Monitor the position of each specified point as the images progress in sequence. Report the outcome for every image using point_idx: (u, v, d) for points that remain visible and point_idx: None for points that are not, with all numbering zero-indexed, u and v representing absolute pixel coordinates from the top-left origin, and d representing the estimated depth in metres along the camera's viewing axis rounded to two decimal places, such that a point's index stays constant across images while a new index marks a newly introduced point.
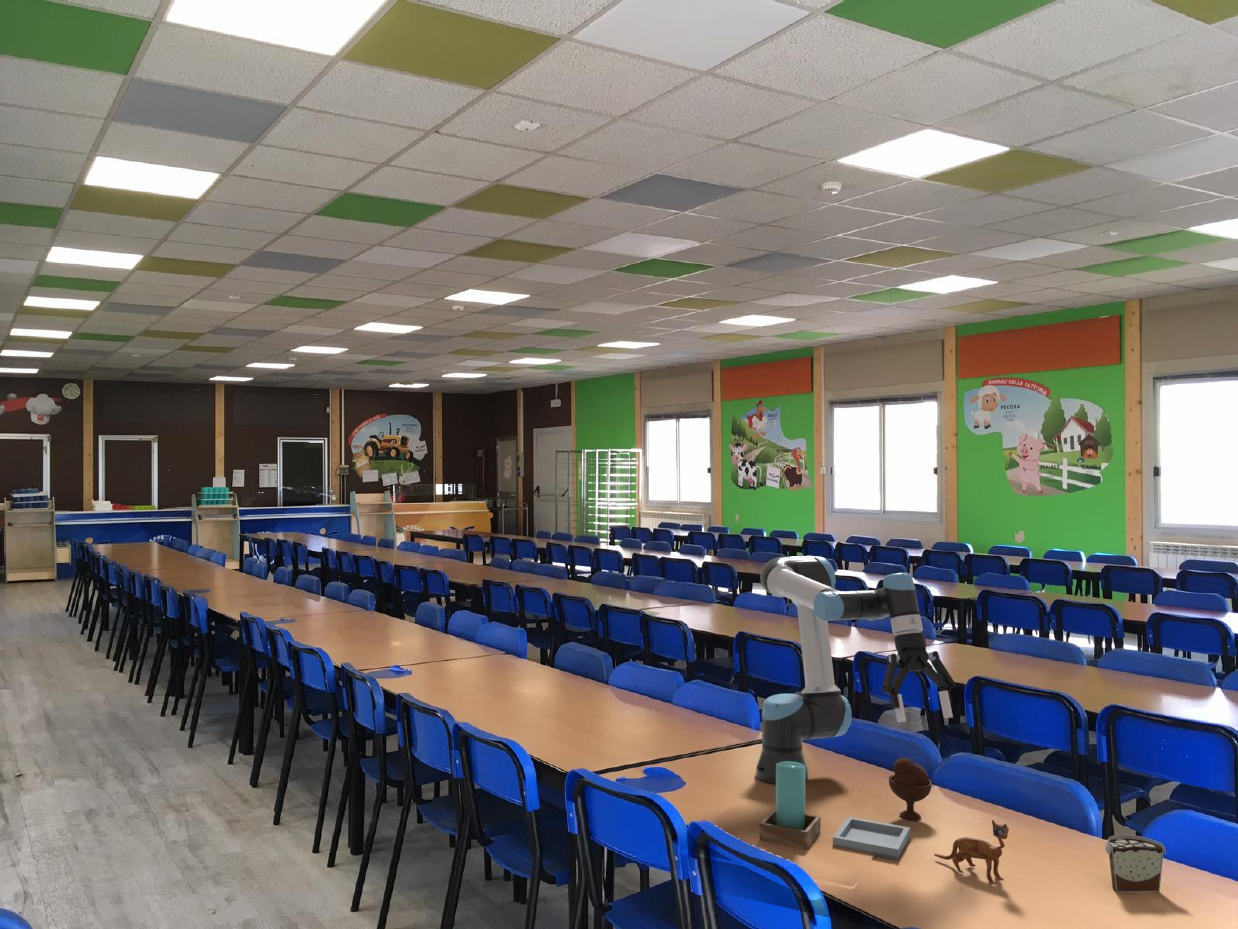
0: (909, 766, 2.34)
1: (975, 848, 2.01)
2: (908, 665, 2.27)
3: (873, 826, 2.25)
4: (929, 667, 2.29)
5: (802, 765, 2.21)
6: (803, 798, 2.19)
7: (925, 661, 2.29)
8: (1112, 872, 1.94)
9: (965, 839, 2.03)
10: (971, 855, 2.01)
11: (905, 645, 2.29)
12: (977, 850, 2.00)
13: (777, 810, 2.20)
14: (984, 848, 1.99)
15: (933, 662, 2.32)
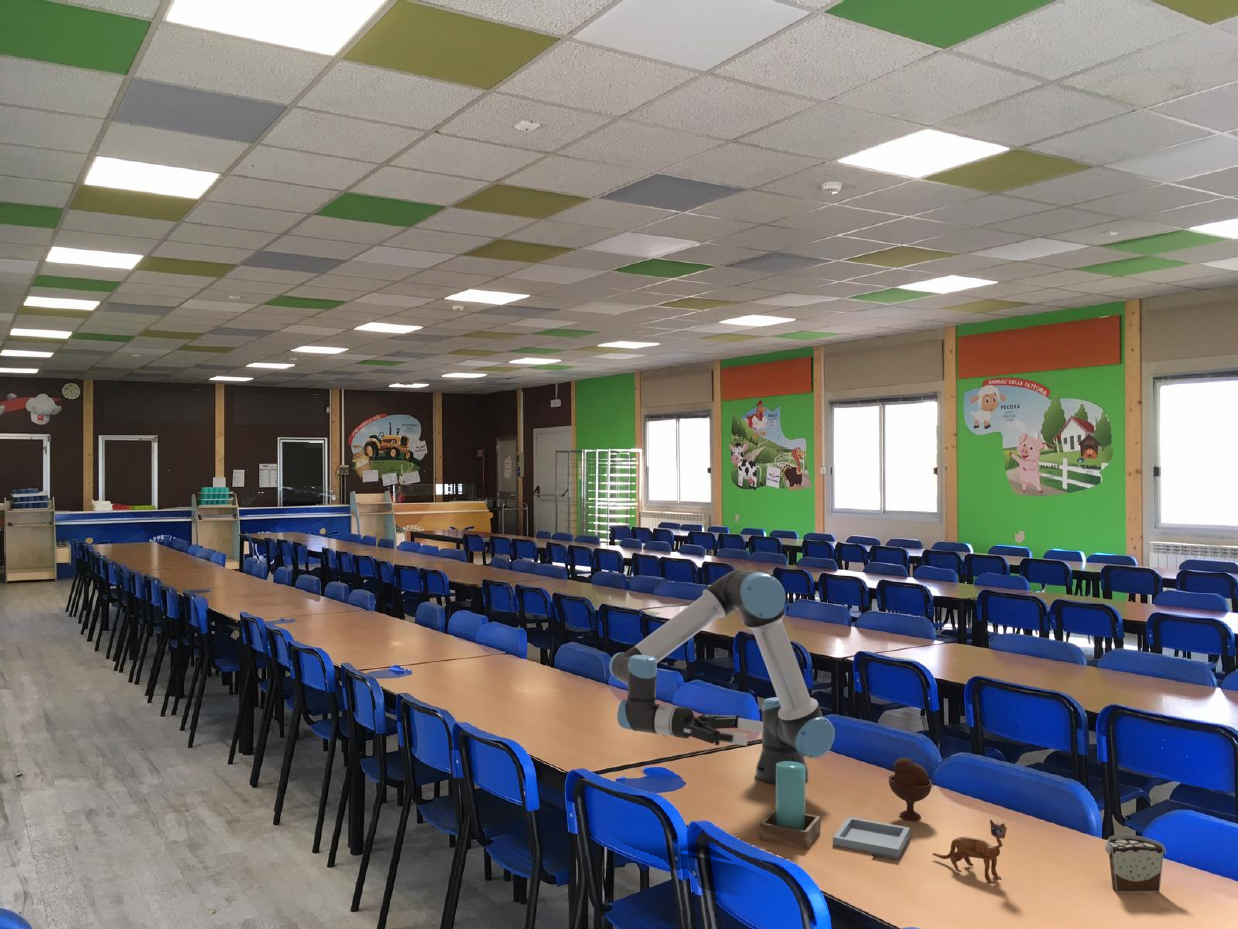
0: (909, 766, 2.34)
1: (973, 847, 2.01)
2: None
3: (873, 826, 2.25)
4: None
5: (802, 765, 2.21)
6: (803, 798, 2.19)
7: None
8: (1112, 872, 1.94)
9: (963, 838, 2.03)
10: (969, 854, 2.02)
11: None
12: (975, 849, 2.01)
13: (777, 810, 2.20)
14: (982, 848, 2.00)
15: None
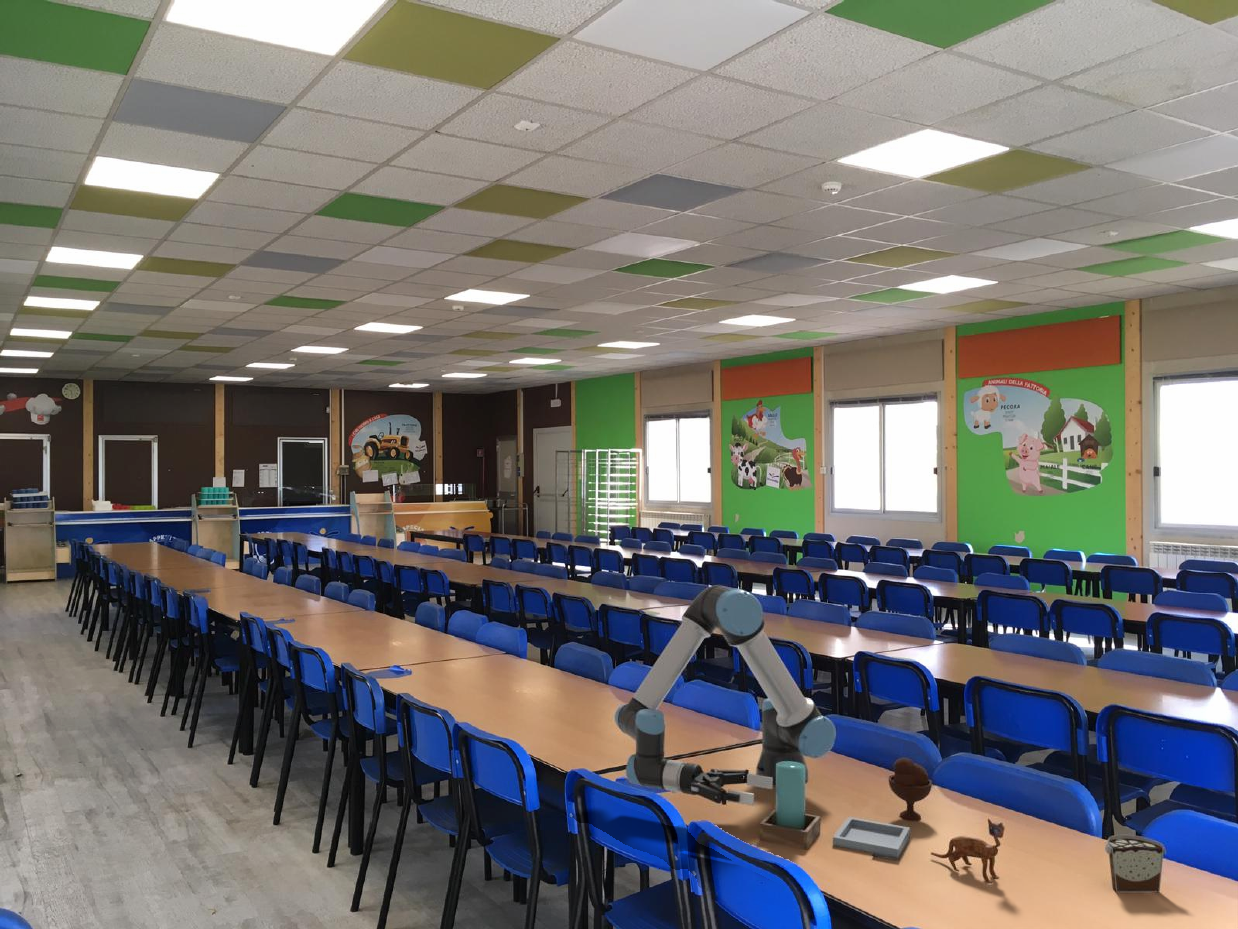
0: (909, 766, 2.34)
1: (971, 847, 2.01)
2: None
3: (873, 826, 2.25)
4: None
5: (802, 765, 2.21)
6: (803, 798, 2.19)
7: None
8: (1112, 872, 1.94)
9: (961, 838, 2.04)
10: (967, 854, 2.02)
11: None
12: (973, 849, 2.01)
13: (777, 810, 2.20)
14: (980, 847, 2.00)
15: None
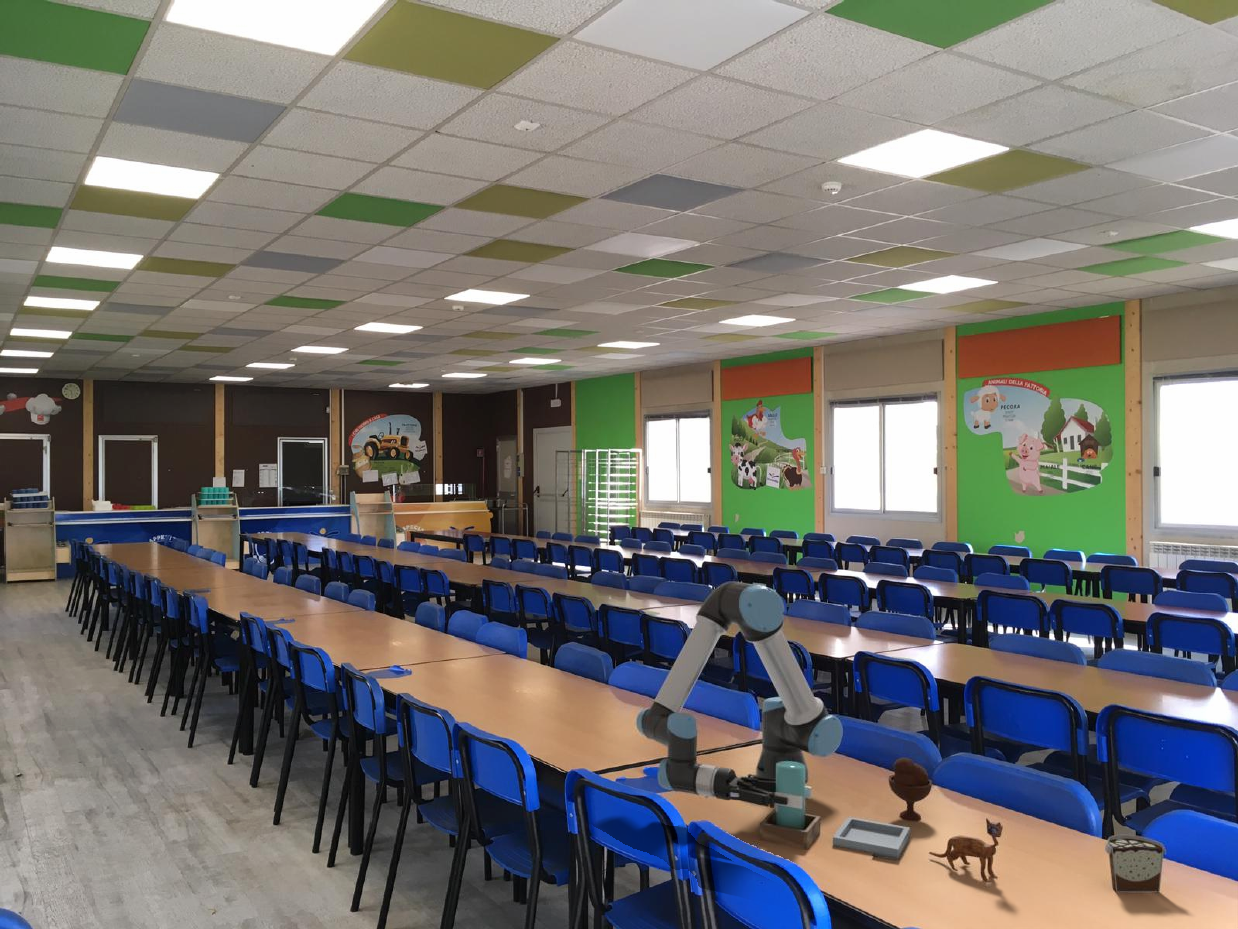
0: (909, 766, 2.34)
1: (969, 846, 2.02)
2: None
3: (873, 826, 2.25)
4: None
5: (802, 765, 2.21)
6: (803, 798, 2.19)
7: None
8: (1112, 872, 1.94)
9: (959, 837, 2.04)
10: (966, 853, 2.02)
11: None
12: (971, 848, 2.01)
13: (777, 810, 2.20)
14: (978, 846, 2.00)
15: None
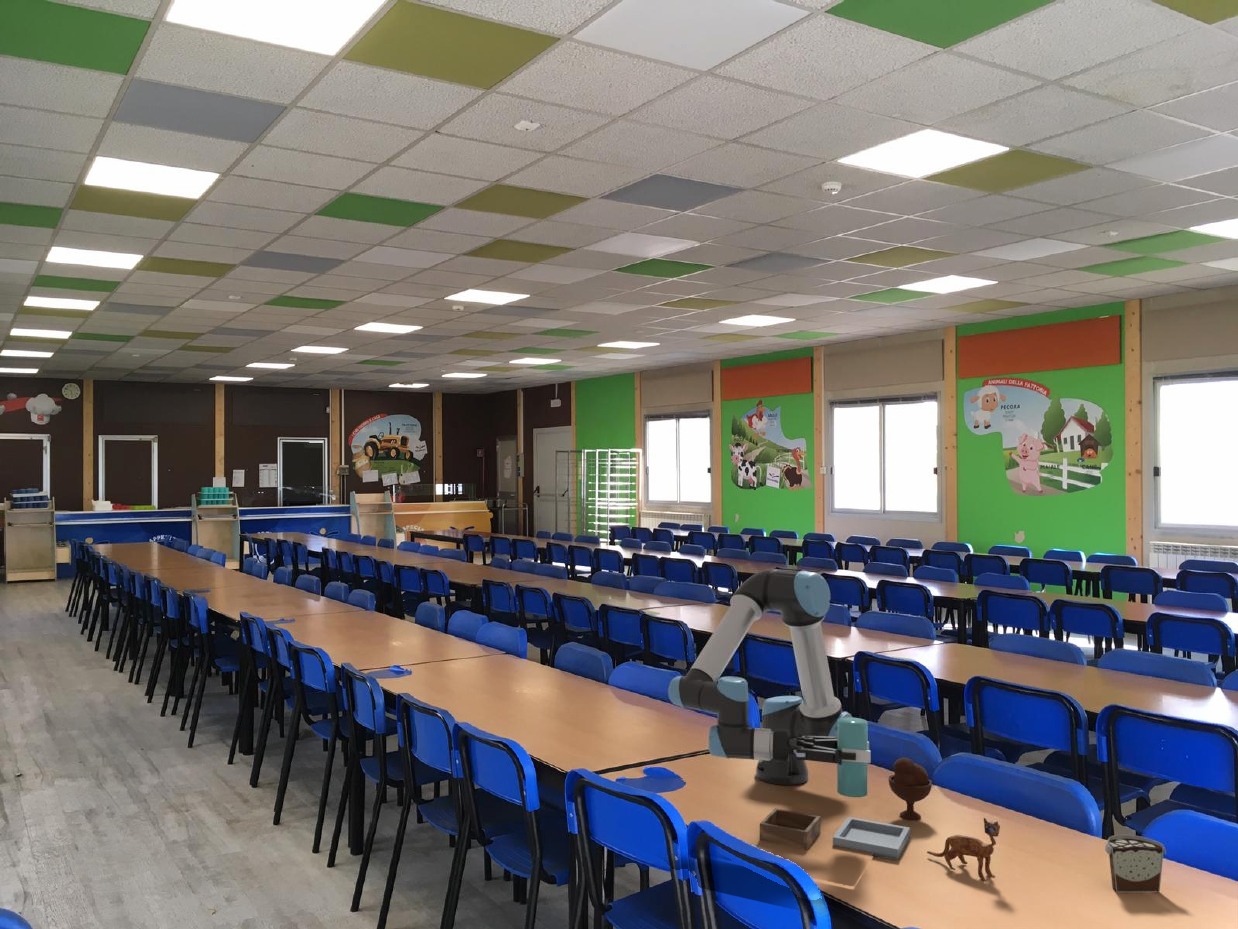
0: (909, 766, 2.34)
1: (966, 845, 2.02)
2: None
3: (873, 826, 2.25)
4: None
5: (863, 720, 2.19)
6: None
7: None
8: (1112, 872, 1.94)
9: (957, 836, 2.04)
10: (963, 852, 2.03)
11: None
12: (969, 847, 2.02)
13: (841, 767, 2.17)
14: (975, 846, 2.01)
15: None
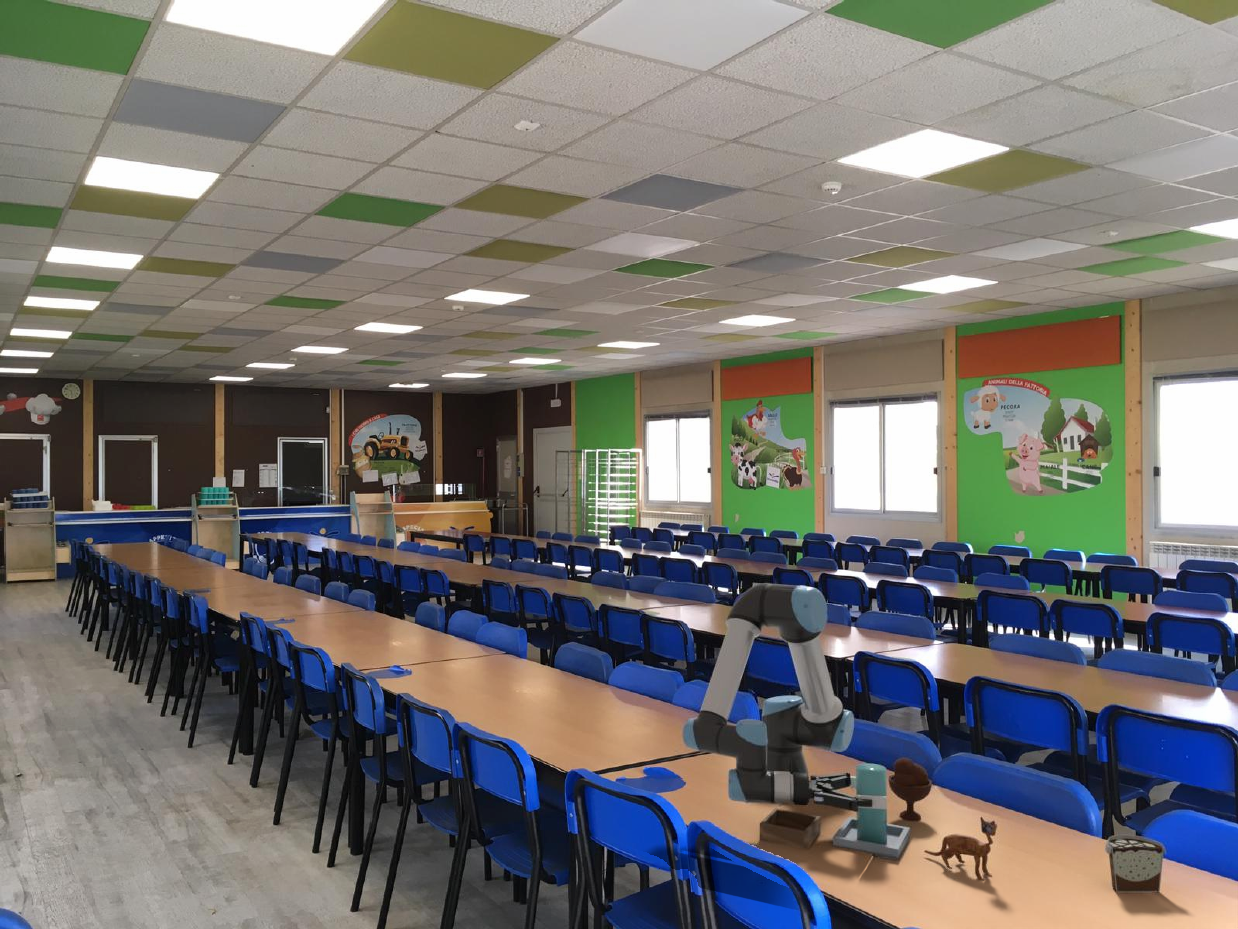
0: (909, 766, 2.34)
1: (963, 845, 2.03)
2: None
3: None
4: None
5: (881, 766, 2.20)
6: None
7: None
8: (1112, 872, 1.94)
9: (954, 836, 2.05)
10: (960, 851, 2.03)
11: None
12: (966, 847, 2.02)
13: (862, 815, 2.17)
14: (972, 845, 2.01)
15: None
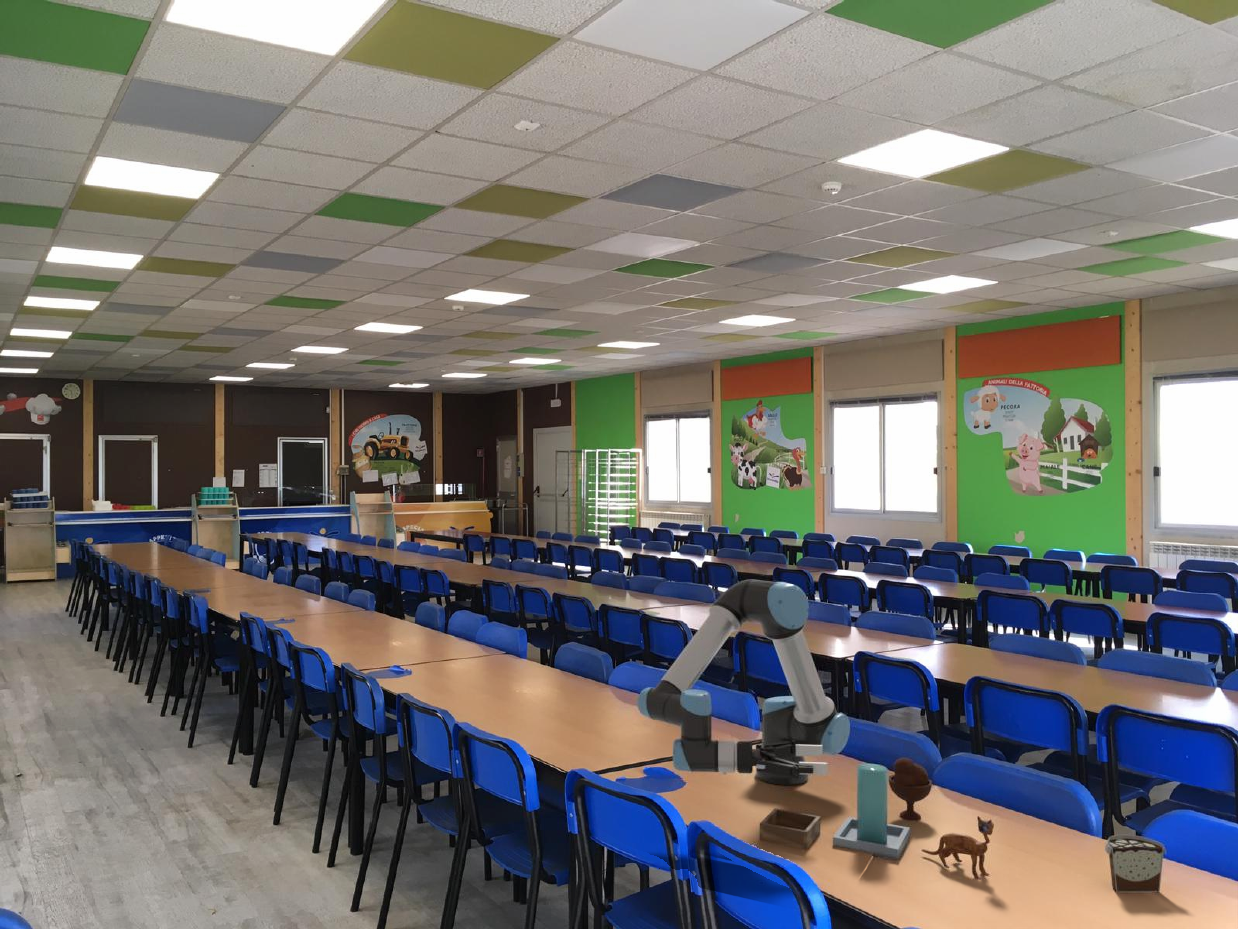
0: (909, 766, 2.34)
1: (961, 844, 2.03)
2: None
3: None
4: None
5: (882, 767, 2.20)
6: None
7: None
8: (1112, 872, 1.94)
9: (951, 835, 2.05)
10: (957, 850, 2.04)
11: None
12: (963, 846, 2.03)
13: (862, 815, 2.17)
14: (969, 844, 2.02)
15: None
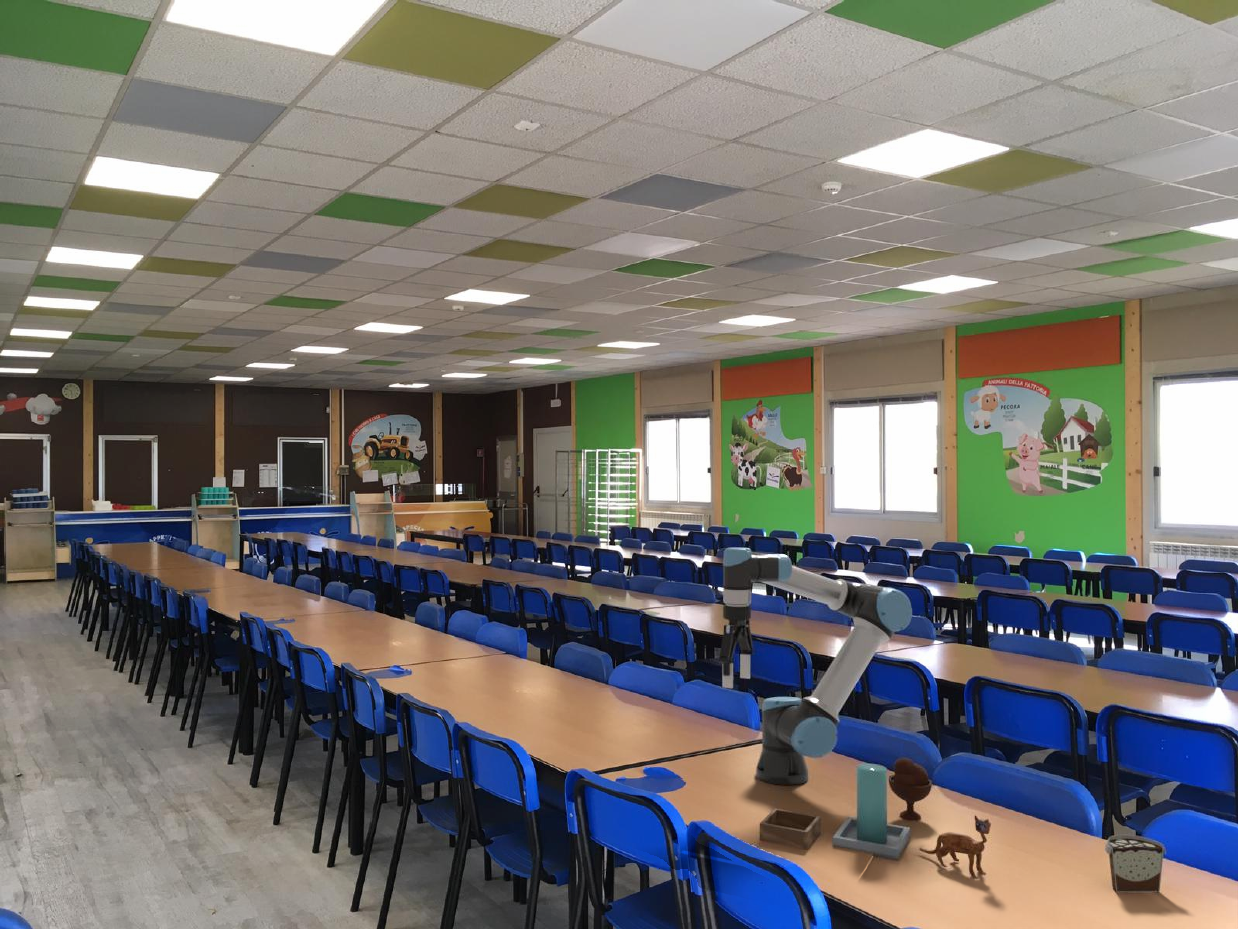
0: (909, 766, 2.34)
1: (958, 843, 2.04)
2: None
3: None
4: None
5: (881, 767, 2.20)
6: (886, 799, 2.18)
7: None
8: (1112, 872, 1.94)
9: (949, 834, 2.06)
10: (955, 850, 2.04)
11: None
12: (960, 845, 2.03)
13: (862, 815, 2.17)
14: (966, 843, 2.02)
15: None
